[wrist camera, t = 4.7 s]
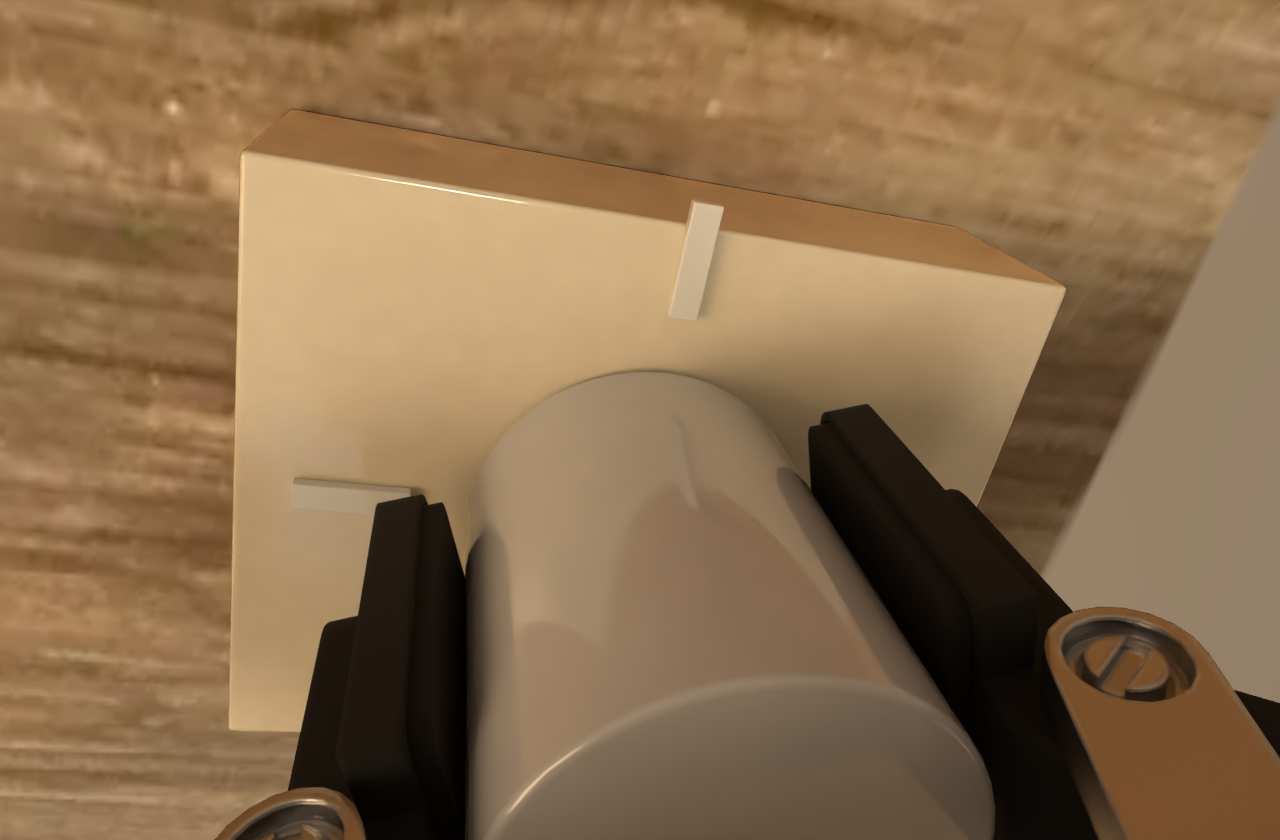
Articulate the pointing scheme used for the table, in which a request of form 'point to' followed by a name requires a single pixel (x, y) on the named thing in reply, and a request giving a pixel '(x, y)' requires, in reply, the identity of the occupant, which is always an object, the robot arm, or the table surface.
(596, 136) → the table surface
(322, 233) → the panel
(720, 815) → the tap knob
